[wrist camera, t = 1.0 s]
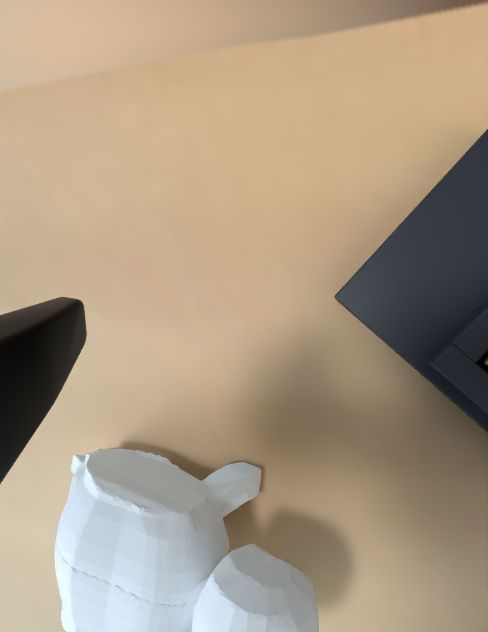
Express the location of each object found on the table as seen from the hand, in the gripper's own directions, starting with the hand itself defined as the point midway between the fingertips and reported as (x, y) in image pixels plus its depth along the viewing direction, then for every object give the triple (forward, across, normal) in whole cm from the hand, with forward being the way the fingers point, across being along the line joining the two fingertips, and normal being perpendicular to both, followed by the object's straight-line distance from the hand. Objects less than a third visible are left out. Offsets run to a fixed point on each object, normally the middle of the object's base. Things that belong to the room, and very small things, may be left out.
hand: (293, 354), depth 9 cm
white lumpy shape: (+8, +3, +18) cm, 20 cm away
